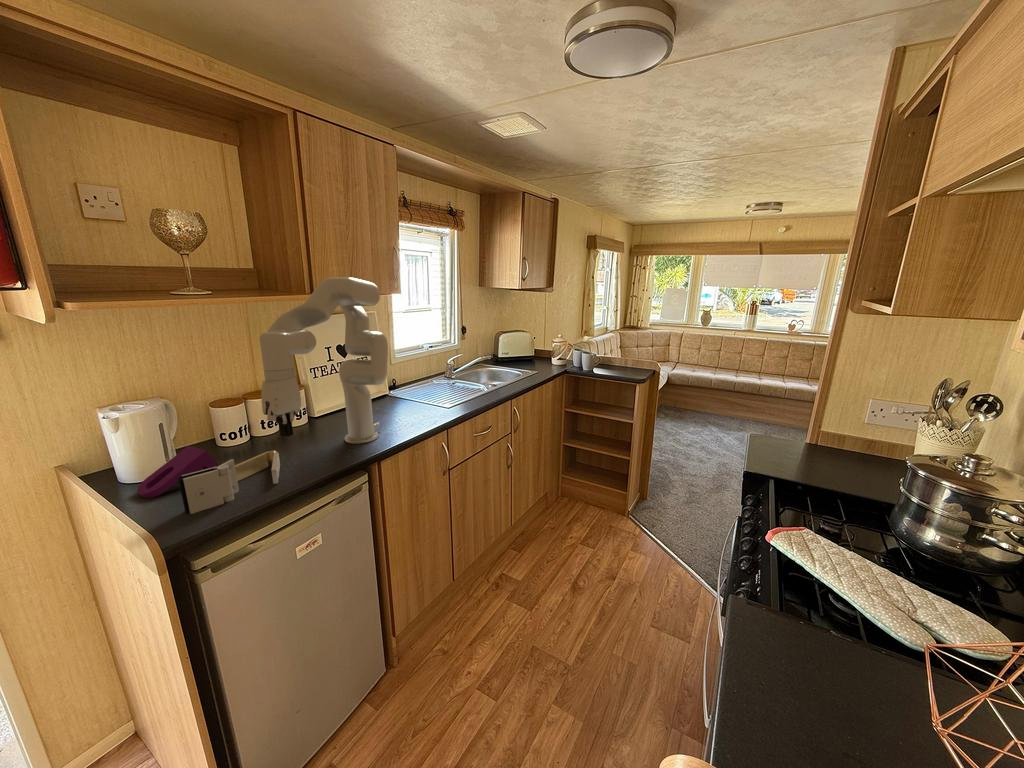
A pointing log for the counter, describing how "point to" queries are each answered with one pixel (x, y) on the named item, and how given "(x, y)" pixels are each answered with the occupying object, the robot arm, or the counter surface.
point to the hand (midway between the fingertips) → (287, 435)
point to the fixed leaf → (254, 464)
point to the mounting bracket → (175, 471)
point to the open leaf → (275, 468)
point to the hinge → (208, 487)
